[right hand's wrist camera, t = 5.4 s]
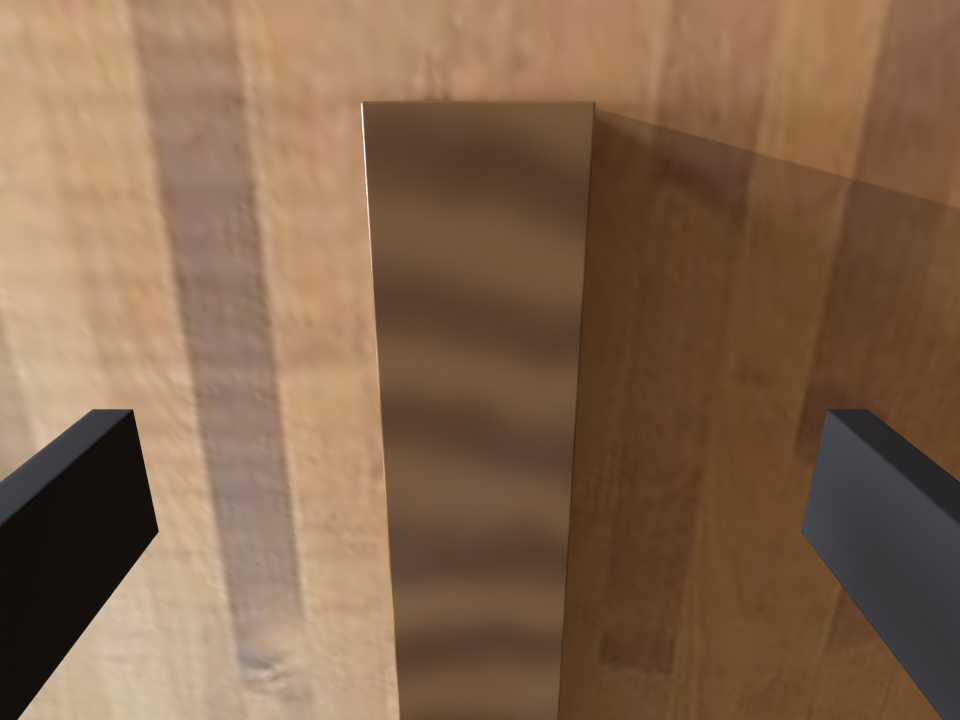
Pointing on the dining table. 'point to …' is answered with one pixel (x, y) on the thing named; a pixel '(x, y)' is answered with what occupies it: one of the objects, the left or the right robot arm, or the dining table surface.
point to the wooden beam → (478, 390)
